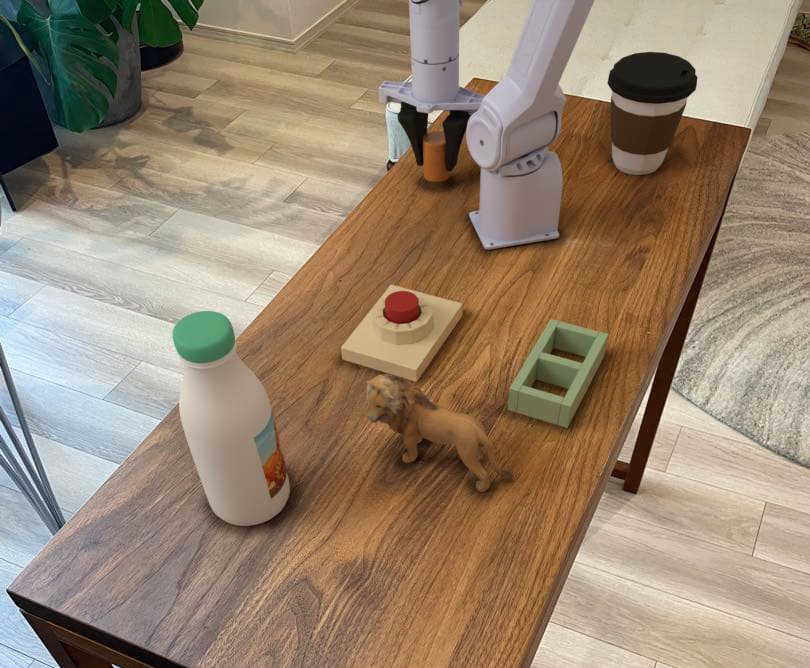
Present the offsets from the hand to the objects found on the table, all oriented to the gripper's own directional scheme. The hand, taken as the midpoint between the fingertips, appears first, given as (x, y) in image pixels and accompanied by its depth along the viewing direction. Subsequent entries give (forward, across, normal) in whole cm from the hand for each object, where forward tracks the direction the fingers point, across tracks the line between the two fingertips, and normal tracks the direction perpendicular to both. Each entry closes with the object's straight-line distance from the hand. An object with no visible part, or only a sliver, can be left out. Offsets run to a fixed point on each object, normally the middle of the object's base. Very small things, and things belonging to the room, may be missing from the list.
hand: (436, 164), depth 109 cm
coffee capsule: (+1, 0, 0) cm, 1 cm away
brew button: (0, +8, -31) cm, 32 cm away
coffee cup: (+3, +24, +13) cm, 27 cm away
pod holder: (+3, +26, -32) cm, 41 cm away
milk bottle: (+3, +4, -57) cm, 57 cm away
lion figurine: (+3, +18, -47) cm, 50 cm away
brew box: (+3, +8, -31) cm, 32 cm away
